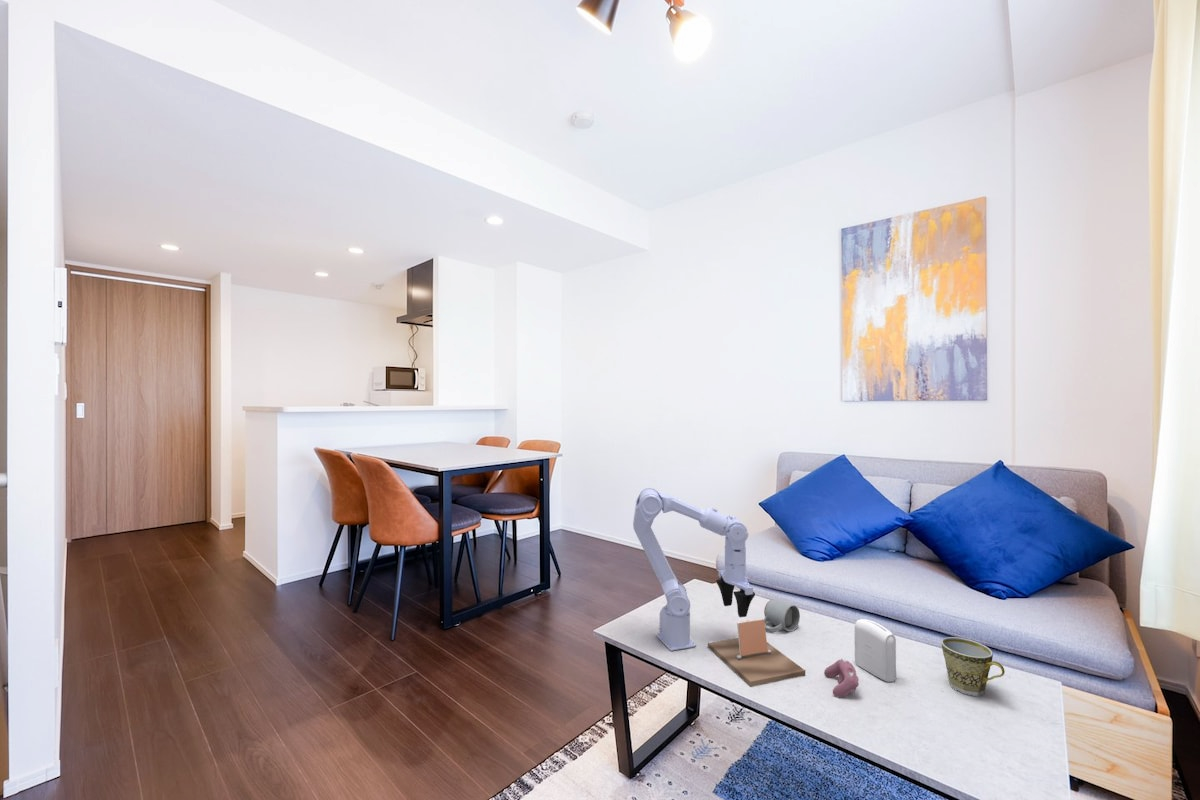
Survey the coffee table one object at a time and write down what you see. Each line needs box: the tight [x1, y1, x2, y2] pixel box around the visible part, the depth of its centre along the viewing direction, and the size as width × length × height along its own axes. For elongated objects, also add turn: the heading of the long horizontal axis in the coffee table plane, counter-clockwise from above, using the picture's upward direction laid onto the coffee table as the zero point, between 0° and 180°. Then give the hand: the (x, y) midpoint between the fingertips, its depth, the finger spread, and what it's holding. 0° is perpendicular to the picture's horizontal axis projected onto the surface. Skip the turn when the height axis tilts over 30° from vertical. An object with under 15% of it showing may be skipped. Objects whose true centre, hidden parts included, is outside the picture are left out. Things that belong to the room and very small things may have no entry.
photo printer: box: [854, 618, 897, 683], centre depth 128 cm, size 10×4×12 cm, turn 20°
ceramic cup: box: [941, 636, 1006, 697], centre depth 119 cm, size 13×10×10 cm
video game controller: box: [823, 658, 860, 698], centre depth 121 cm, size 10×5×7 cm, turn 169°
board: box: [707, 637, 806, 687], centre depth 133 cm, size 20×16×1 cm
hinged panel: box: [736, 618, 771, 659], centre depth 134 cm, size 9×10×1 cm
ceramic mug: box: [763, 599, 801, 634], centre depth 152 cm, size 11×8×8 cm
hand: (734, 610), depth 142 cm, fingers open, 7 cm apart
